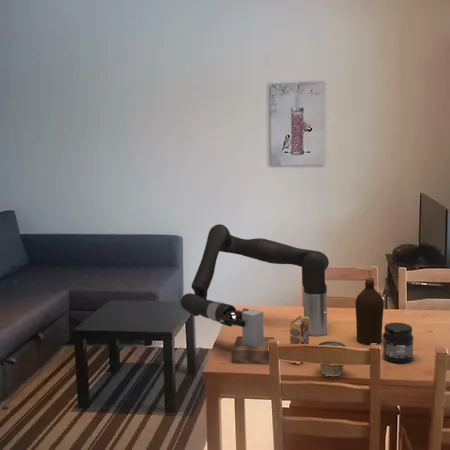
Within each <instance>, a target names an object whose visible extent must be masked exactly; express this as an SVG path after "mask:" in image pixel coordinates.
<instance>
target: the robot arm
mask: <svg viewBox="0 0 450 450" xmlns="http://www.w3.org/2000/svg"><path fill="white" fill-rule="evenodd" d="M219 252H221V253H226V254H227V253H228V254H235V255H240V256H243V257H247V258H250V259H253V260H257V261H260V262H264V263H268V264H275V265H293V266H298V267H301V280H302V282H301V283H302V287H303V317H308V318H309V336H312V337H313V336H314V337H316V336H317V337H319V336H320V337H321V336H327V334H328V308H327V307H328V299H327V298H328V297H327V296H328V287H327V286H328V285H327V284H326V270H327V269H328V266H329V264H330V262H329V258H328V256H327V255H326V254H325V253H323V252H322V251H318V250H312V249H306V248H299V247H296V246H291V245H288V244H286V243H281V242H278V241H274V240H270V239H266V238H262V237H260V238H258V237H256V238H250V239H249V238H246V239H245V238H241V237H237V236H234V235H232V234H231V233H230V231H229V229H228V227H226V225H224V224H215V225H213V226H212V227H211V228H210V229H209V230H208V234H207V238H206V243H205V247H204V251H203V255H202V257H201V260H200V263H199V266H198V269H197V271H196V273H195V275H194V278H193V280H192V283H191V285H190V286H191V289H192V291H193V292H194V293H192V292H191V293H190V292H189V293H185V294H184V295H183V296H182V297H181V299H180V307H181V308H182V309H184V311H186V312H187V313H189V314H190V315H192V316H193V317H198V316H202V317H203V318H206V319H209V320H212V321H213V322H217V323H219V324H221V325H223V326H227V327H236V326H238V327H245V321H243V320H242V312H245V311H248V310H250V309H249V308H242V310H240V309H239V310H238V309H236V307H235V306H234V305H232V304H228V303H225V302H221V301H214V300H210V299H208V290H209V288H210V287H211V286H210V285H211V282H212V280H213V278H214V274H215V269H216V264H217V259H218V256H219V254H220V253H219Z"/></svg>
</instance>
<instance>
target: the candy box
mask: <svg viewBox="0 0 450 450" xmlns="http://www.w3.org/2000/svg"><path fill="white" fill-rule="evenodd" d="M289 324H290V325H289V329H290V330H289V331H290V332H289V345H290V344H310V342H309V340H310V339H309V337H310V335H309V318H308V317H304V315H303V316H301V315H299V316H298V317H296V318H295V319H294V320H293V321H291V322H290V323H289ZM294 363H296V362H294Z"/></svg>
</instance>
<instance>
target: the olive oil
mask: <svg viewBox="0 0 450 450" xmlns="http://www.w3.org/2000/svg"><path fill="white" fill-rule="evenodd" d="M364 285H365V286H364V289H363V290H362V291H361V292H360V293H359V294H358V295H357V296H356V298H355V302H354V303H355V319H356V321H355V324H356V341H357V343H359V344H361V345H365V346H370V345H369V344H371V343H378V344H381V343H382V342H383V341H382V339H383V320H384V318H383V317H384V307H385V305H384V304H385V303H384V299H383V297H382V295H381V294H380V293H379V292H378V290H376V289H375V279H374V278H373V277H366V278H365V282H364ZM378 344H377V345H378Z"/></svg>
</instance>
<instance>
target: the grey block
mask: <svg viewBox="0 0 450 450" xmlns="http://www.w3.org/2000/svg"><path fill="white" fill-rule="evenodd" d="M242 320H243V321H245V327H242V328H241V330H242V335H241V336H242V337H243V344H245V345H248V346H251V347H256V346H258V345H261V344H263V343H264V337H265V336H264V311H262V310H257V309H253V308H251V309H249V310H248V311H245V312H242Z"/></svg>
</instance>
